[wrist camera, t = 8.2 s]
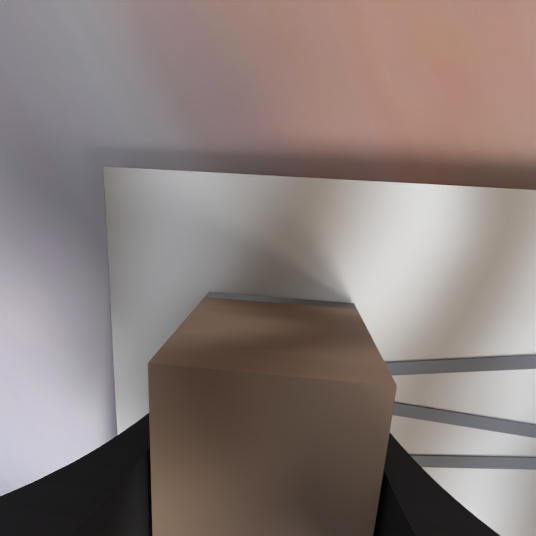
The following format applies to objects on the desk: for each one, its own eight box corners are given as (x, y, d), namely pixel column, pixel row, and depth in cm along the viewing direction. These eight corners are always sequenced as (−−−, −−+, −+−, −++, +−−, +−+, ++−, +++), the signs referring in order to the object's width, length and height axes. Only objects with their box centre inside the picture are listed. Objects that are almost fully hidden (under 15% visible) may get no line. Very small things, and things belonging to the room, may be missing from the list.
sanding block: (354, 303, 11) (396, 386, 7) (328, 516, 13) (346, 700, 9) (208, 291, 12) (147, 362, 7) (205, 502, 14) (156, 670, 9)
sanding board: (847, 208, 11) (917, 210, 10) (681, 588, 14) (716, 624, 13) (121, 168, 12) (102, 166, 11) (135, 520, 16) (122, 547, 15)
